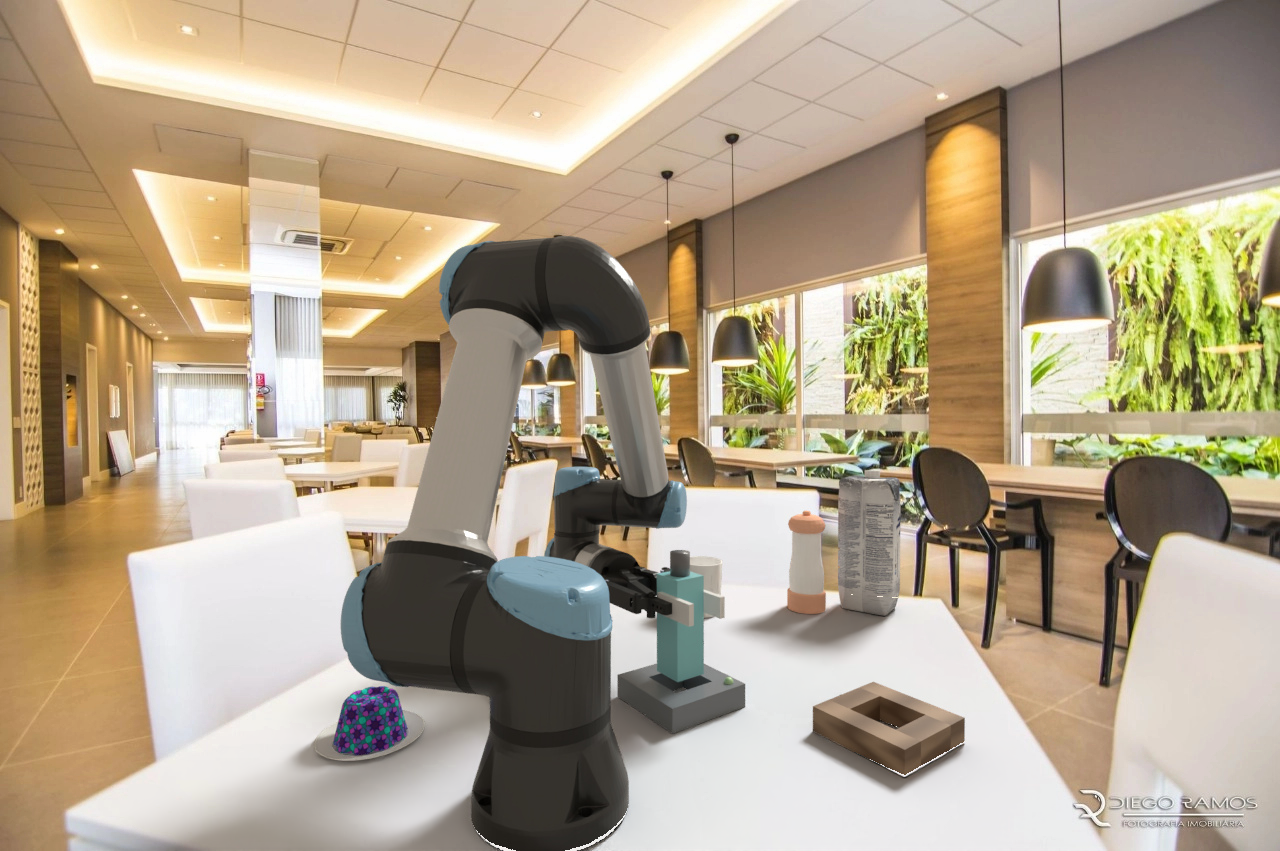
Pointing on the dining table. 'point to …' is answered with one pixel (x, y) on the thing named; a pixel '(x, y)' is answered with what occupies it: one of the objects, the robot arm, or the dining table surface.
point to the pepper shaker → (806, 565)
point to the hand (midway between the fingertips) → (706, 611)
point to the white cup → (708, 573)
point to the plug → (675, 640)
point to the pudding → (369, 726)
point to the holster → (900, 749)
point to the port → (680, 696)
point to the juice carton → (869, 543)
